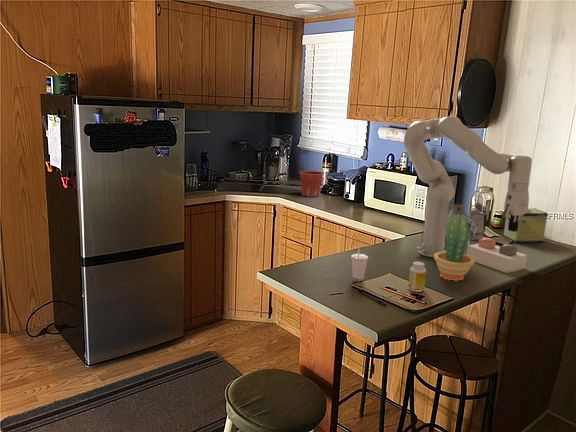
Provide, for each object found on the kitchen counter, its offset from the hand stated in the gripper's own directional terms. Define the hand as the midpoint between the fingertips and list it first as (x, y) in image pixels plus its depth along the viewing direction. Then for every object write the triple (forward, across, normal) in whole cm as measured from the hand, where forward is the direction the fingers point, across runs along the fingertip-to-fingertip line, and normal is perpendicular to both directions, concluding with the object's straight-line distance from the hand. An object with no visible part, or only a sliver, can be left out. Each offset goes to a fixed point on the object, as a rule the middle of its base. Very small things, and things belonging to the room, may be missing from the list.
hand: (512, 230), depth 200 cm
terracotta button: (+12, 0, +11) cm, 16 cm away
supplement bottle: (+16, -54, +1) cm, 56 cm away
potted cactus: (+16, -30, +4) cm, 35 cm away
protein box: (+16, +44, +22) cm, 52 cm away
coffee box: (+16, +14, +28) cm, 35 cm away
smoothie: (+15, -66, +18) cm, 71 cm away
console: (+16, 0, +6) cm, 17 cm away
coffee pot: (+15, +28, +50) cm, 59 cm away
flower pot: (+13, +9, +157) cm, 158 cm away
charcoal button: (+13, 0, +1) cm, 13 cm away
